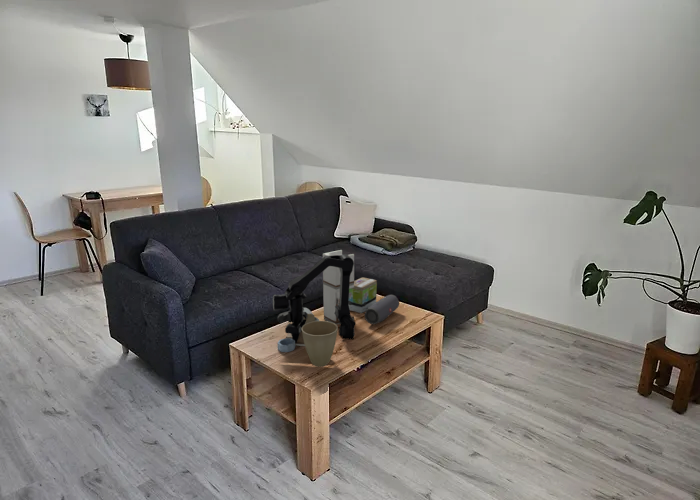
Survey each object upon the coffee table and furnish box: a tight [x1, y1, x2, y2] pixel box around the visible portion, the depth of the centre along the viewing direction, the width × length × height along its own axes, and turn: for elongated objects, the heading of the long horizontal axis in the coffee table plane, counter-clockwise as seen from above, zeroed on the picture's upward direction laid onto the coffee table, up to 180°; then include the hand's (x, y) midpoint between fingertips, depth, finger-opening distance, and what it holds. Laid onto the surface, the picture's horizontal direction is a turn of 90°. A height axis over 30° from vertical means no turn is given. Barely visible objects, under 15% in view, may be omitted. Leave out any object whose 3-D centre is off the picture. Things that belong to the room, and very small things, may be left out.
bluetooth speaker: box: [364, 294, 400, 325], centre depth 241 cm, size 23×9×10 cm, turn 148°
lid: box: [285, 332, 304, 344], centre depth 215 cm, size 9×6×4 cm
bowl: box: [277, 337, 296, 353], centre depth 208 cm, size 7×7×4 cm
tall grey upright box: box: [322, 249, 355, 325], centre depth 236 cm, size 11×11×35 cm
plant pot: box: [302, 320, 339, 368], centre depth 196 cm, size 15×15×16 cm
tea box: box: [349, 276, 378, 314], centre depth 255 cm, size 15×10×15 cm
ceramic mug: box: [303, 307, 320, 324], centre depth 235 cm, size 11×8×8 cm
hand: (297, 339), depth 216 cm, fingers closed on lid, 6 cm apart
